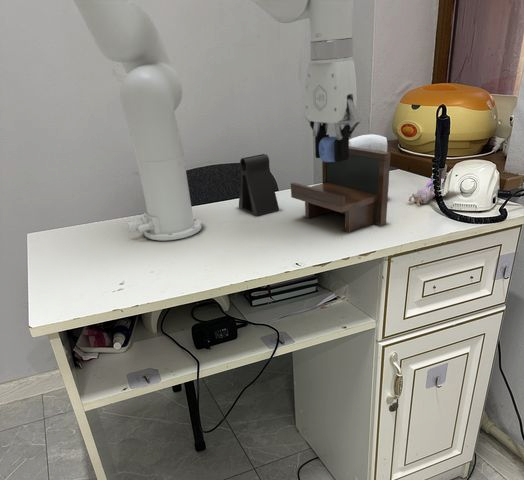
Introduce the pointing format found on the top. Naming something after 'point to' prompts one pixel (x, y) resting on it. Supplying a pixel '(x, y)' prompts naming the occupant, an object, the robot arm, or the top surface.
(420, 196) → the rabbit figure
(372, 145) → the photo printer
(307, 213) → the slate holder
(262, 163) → the phone stand
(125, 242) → the top surface
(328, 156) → the decorative dice
